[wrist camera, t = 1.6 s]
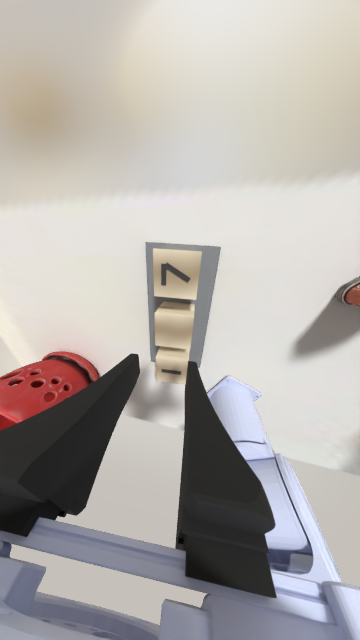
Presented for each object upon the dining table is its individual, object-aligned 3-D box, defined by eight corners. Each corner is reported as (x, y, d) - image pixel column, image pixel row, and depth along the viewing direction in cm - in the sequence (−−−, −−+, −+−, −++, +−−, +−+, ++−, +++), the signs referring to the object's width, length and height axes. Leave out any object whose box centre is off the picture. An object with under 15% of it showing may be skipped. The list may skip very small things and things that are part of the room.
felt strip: (199, 365, 24) (199, 367, 24) (151, 359, 25) (150, 361, 24) (220, 247, 16) (220, 246, 15) (146, 242, 16) (145, 242, 16)
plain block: (191, 331, 21) (190, 349, 17) (163, 328, 21) (155, 345, 17) (194, 304, 19) (194, 317, 15) (163, 301, 19) (154, 313, 15)
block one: (187, 362, 23) (185, 385, 19) (162, 359, 24) (156, 381, 20) (190, 341, 22) (188, 362, 17) (163, 338, 22) (155, 357, 18)
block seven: (196, 290, 18) (196, 300, 14) (163, 287, 18) (153, 296, 14) (200, 252, 16) (202, 251, 12) (163, 250, 16) (152, 248, 12)
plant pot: (100, 350, 25) (29, 419, 14) (107, 393, 31) (59, 466, 20) (35, 337, 26) (-81, 395, 15) (54, 382, 31) (-20, 448, 21)
